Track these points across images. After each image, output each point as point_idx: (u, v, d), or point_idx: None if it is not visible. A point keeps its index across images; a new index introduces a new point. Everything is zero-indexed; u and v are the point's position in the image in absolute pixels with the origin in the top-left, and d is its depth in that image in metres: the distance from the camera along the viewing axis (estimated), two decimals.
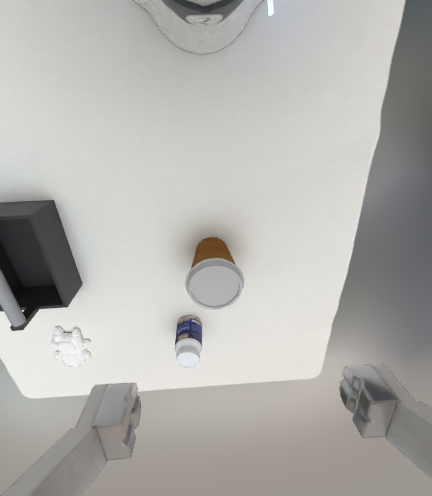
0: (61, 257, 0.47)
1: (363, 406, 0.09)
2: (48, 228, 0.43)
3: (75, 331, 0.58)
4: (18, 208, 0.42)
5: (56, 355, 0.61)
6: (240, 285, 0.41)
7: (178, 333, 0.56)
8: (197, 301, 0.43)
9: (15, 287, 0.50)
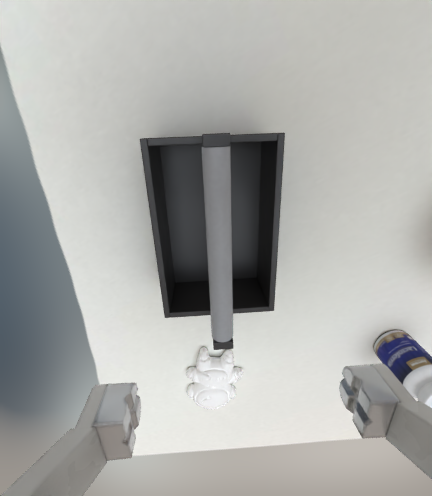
0: None
1: (363, 406, 0.09)
2: None
3: (231, 355, 0.39)
4: None
5: (190, 391, 0.41)
6: None
7: (401, 357, 0.36)
8: None
9: (172, 281, 0.32)
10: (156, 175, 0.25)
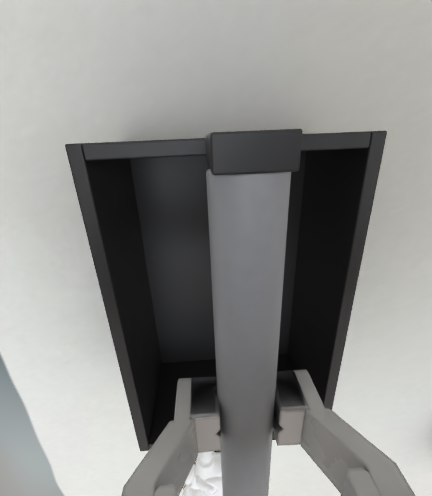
0: None
1: (276, 413, 0.09)
2: None
3: None
4: None
5: None
6: None
7: None
8: None
9: (157, 369, 0.20)
10: (116, 213, 0.13)
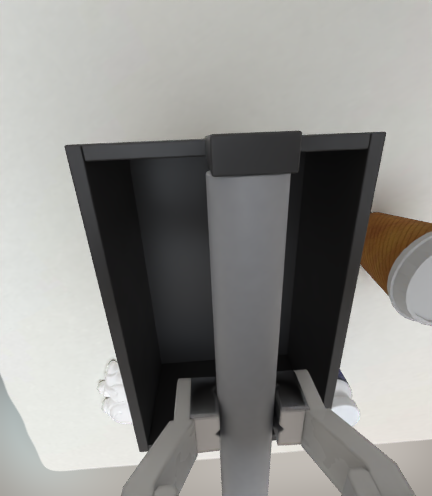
0: None
1: (277, 413, 0.09)
2: None
3: None
4: None
5: (104, 406, 0.40)
6: None
7: None
8: None
9: (156, 369, 0.20)
10: (116, 214, 0.13)
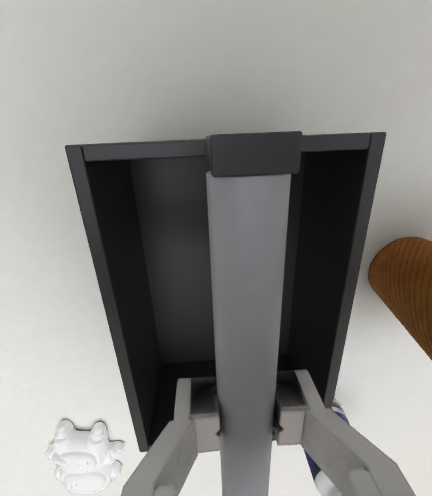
0: None
1: (277, 413, 0.09)
2: None
3: (98, 431, 0.29)
4: None
5: (57, 473, 0.32)
6: None
7: None
8: None
9: (156, 369, 0.20)
10: (116, 214, 0.13)
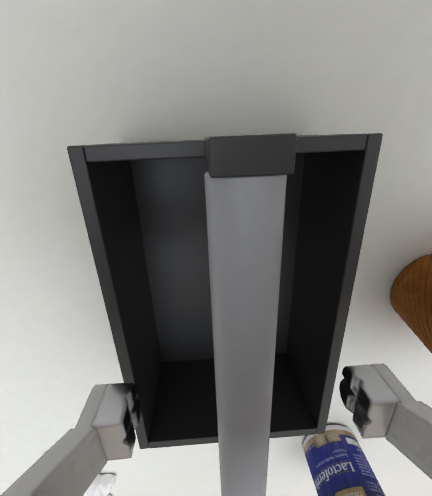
0: None
1: (363, 406, 0.09)
2: None
3: None
4: None
5: None
6: None
7: (329, 480, 0.24)
8: None
9: (157, 367, 0.20)
10: (117, 214, 0.13)
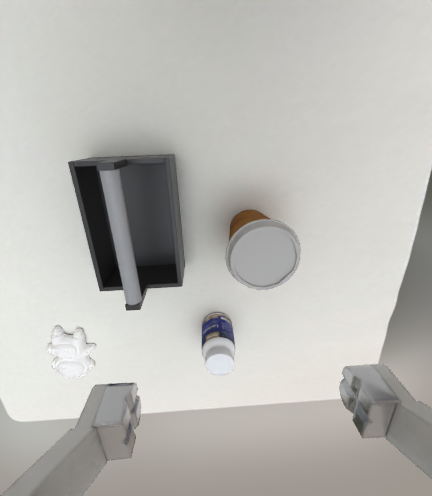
0: (178, 223, 0.38)
1: (363, 406, 0.09)
2: (174, 183, 0.35)
3: (78, 332, 0.48)
4: None
5: (53, 363, 0.50)
6: (297, 255, 0.32)
7: (205, 332, 0.45)
8: (240, 278, 0.33)
9: (111, 265, 0.42)
10: (87, 186, 0.34)
